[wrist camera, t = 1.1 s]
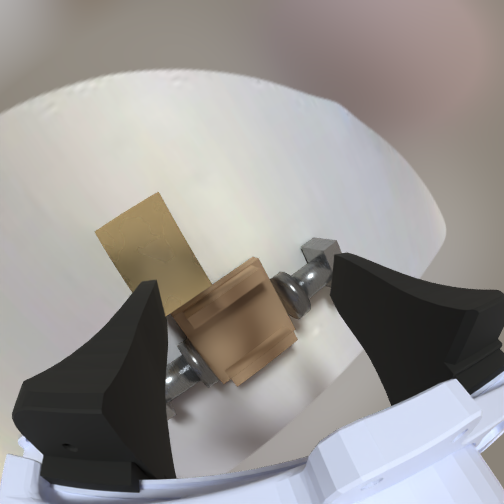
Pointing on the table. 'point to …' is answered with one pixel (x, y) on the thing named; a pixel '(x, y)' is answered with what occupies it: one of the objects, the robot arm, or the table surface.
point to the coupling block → (154, 252)
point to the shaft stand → (244, 320)
